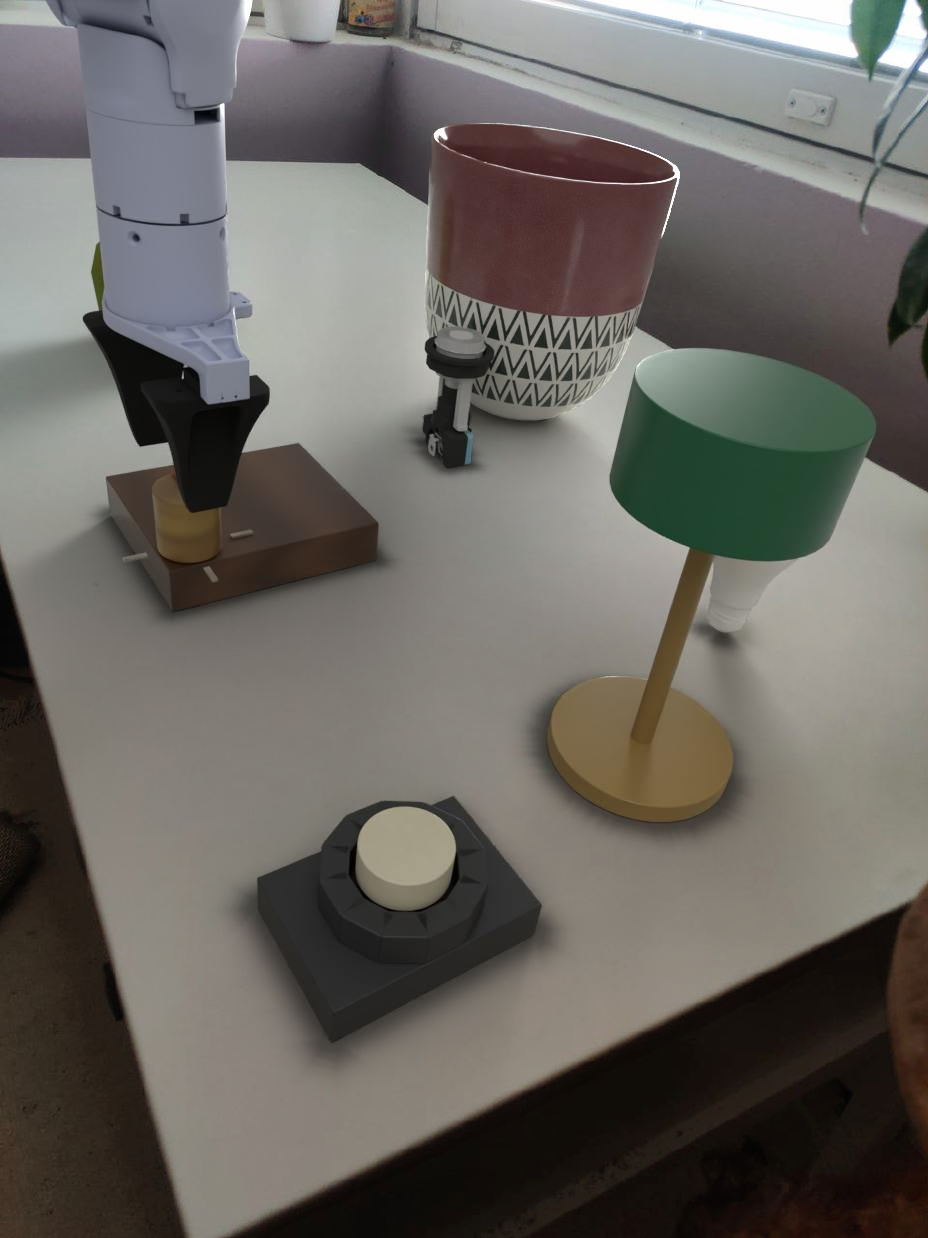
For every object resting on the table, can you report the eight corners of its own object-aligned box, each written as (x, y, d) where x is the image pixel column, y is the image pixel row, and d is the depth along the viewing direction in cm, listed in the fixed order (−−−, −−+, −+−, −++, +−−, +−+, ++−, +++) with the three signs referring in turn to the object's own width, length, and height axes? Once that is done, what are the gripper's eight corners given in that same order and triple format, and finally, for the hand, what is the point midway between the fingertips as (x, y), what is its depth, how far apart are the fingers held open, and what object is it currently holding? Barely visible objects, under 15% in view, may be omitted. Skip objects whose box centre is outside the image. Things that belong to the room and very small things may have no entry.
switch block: (331, 1044, 36) (335, 987, 34) (257, 908, 41) (256, 849, 38) (534, 935, 41) (550, 878, 39) (449, 825, 46) (458, 768, 43)
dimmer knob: (231, 556, 56) (229, 493, 54) (168, 568, 54) (162, 505, 52) (210, 524, 59) (207, 463, 56) (149, 535, 57) (143, 472, 54)
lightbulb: (774, 621, 63) (832, 477, 57) (758, 670, 59) (819, 520, 52) (687, 591, 65) (734, 447, 58) (664, 637, 60) (712, 487, 54)
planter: (453, 464, 75) (490, 178, 62) (380, 366, 89) (398, 116, 76) (658, 448, 82) (729, 188, 69) (560, 360, 96) (605, 130, 83)
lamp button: (385, 927, 37) (388, 900, 36) (338, 854, 39) (339, 827, 38) (469, 887, 39) (475, 860, 38) (419, 820, 41) (423, 793, 40)
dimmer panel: (150, 640, 54) (146, 596, 52) (79, 520, 63) (73, 479, 61) (391, 576, 62) (395, 535, 60) (298, 478, 71) (299, 440, 69)
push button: (396, 436, 78) (406, 318, 72) (451, 428, 81) (465, 313, 75) (433, 473, 74) (447, 351, 68) (491, 464, 76) (509, 345, 70)
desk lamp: (629, 851, 46) (763, 470, 33) (510, 723, 52) (585, 362, 39) (765, 781, 51) (926, 428, 38) (642, 672, 57) (746, 337, 44)
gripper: (314, 252, 40) (307, 523, 48) (189, 166, 49) (201, 406, 57) (150, 262, 36) (172, 553, 45) (48, 167, 46) (82, 423, 54)
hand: (180, 472), depth 51 cm, fingers open, 7 cm apart
